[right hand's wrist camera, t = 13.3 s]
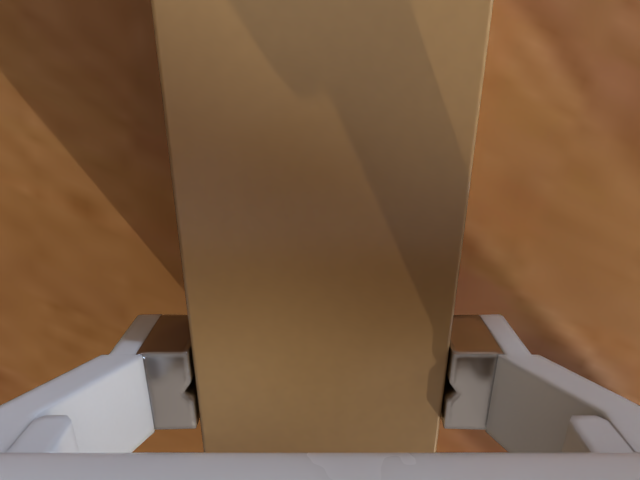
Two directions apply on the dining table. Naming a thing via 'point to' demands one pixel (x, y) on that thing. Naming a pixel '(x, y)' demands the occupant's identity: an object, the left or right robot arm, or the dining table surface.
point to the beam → (321, 211)
